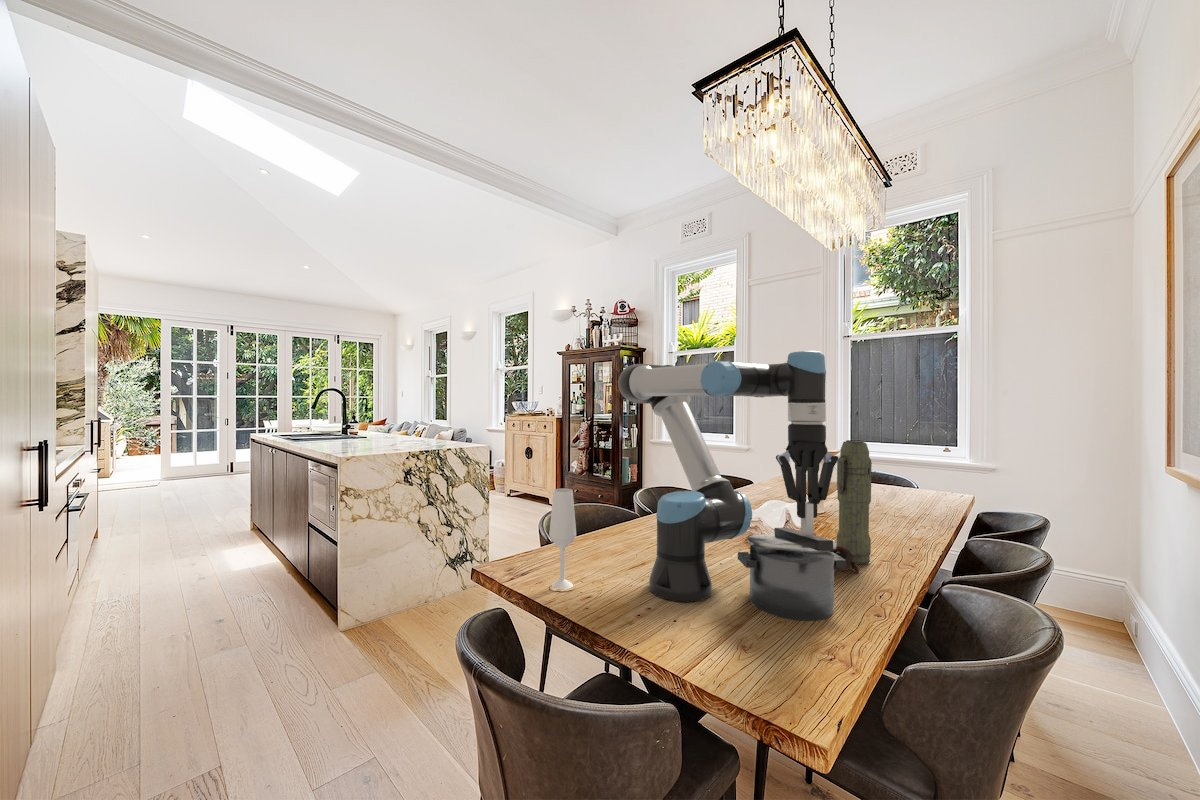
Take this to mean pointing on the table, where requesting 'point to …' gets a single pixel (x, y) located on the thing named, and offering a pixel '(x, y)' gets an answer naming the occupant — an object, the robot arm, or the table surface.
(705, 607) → the table surface
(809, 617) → the pot
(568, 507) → the champagne flute
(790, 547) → the lid
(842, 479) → the thermos
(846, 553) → the pottery mug
